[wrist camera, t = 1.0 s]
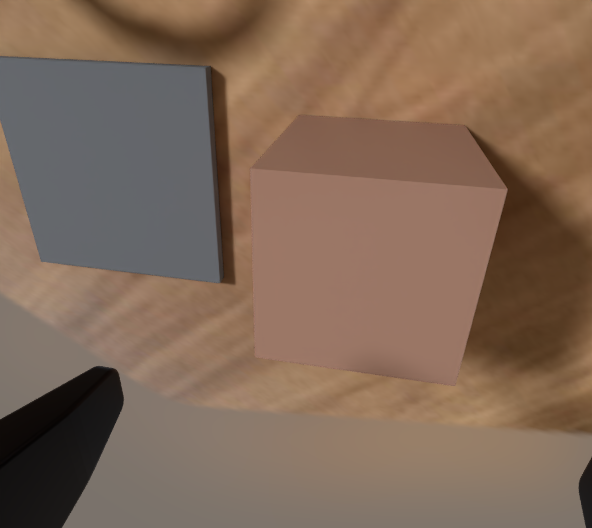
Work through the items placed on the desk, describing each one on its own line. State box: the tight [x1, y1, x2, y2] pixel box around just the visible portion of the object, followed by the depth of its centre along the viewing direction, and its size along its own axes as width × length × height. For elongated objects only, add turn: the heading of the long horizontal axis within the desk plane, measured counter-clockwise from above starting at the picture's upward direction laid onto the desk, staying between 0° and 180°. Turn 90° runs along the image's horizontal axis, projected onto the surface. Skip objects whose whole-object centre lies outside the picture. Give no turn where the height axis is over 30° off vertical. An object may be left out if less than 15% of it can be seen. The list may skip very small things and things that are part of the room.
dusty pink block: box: [250, 115, 508, 386], centre depth 16 cm, size 7×7×8 cm
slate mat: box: [0, 56, 224, 283], centre depth 21 cm, size 10×10×1 cm
